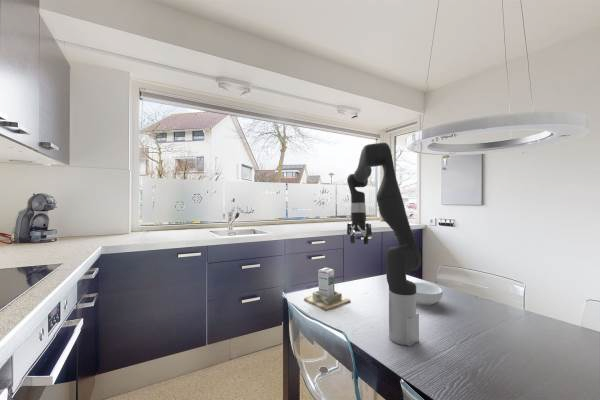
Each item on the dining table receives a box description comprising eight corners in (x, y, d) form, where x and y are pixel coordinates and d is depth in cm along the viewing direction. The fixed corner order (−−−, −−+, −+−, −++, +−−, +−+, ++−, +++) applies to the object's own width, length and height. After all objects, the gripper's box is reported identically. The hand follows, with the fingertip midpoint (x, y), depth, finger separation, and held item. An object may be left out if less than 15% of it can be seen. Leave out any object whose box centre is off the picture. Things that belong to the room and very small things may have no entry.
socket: (350, 301, 129) (350, 293, 129) (326, 310, 119) (326, 302, 119) (327, 292, 141) (327, 285, 141) (304, 300, 132) (304, 292, 132)
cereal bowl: (451, 307, 122) (451, 291, 122) (419, 311, 118) (419, 295, 118) (425, 294, 138) (425, 280, 138) (397, 297, 134) (397, 283, 134)
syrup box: (328, 301, 127) (328, 271, 126) (318, 298, 130) (318, 269, 130) (334, 298, 131) (334, 269, 131) (324, 295, 135) (324, 267, 135)
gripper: (343, 212, 141) (343, 243, 139) (364, 211, 129) (365, 245, 128) (352, 212, 145) (353, 242, 144) (374, 211, 134) (375, 244, 132)
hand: (359, 243), depth 136 cm, fingers open, 8 cm apart
